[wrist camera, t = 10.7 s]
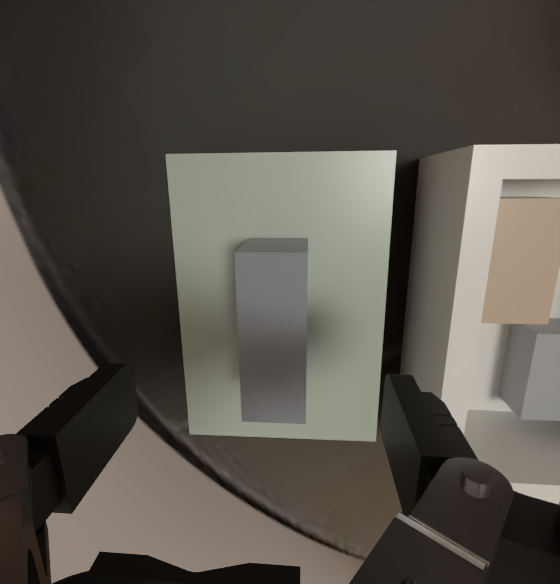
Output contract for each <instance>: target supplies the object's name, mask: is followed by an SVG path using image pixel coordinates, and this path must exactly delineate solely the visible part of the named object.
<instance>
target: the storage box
mask: <svg viewBox="0 0 560 584" xmlns="http://www.w3.org/2000/svg"><path fill="white" fill-rule="evenodd" d="M400 374H403V375H412V376H413V377H414V379H415V381H416V383H417V385H418V387H419V388H420V390H421V392H432V393H433V394H434V395H435V396H437V397H438V398H439V399H441V400H442V401H443V402H444V403H445V404H446V406H447V408H448V409H449V411H450V413H451V416H452V417H453V418H454V419H455V421H456V423H457V426H458V427H459V428H460V430H461V431H462V433H463V435H464V436H465V438H466V440H467V441H468V443H469V445H470V446H471V448H472V450H473V451H474V453H475V455H476V456H477V458H478V460H479V461H482V462H484V463H486V464H488V465H490V466H492V467H494V468H495V469H497V470H498V471H499V472H501V473H502V474H503V475H504V476H505V477H506V478H507V480H508V481H509V482H510V484H511V486H512V488H513V490H514V491H516V492H518V493H521V494H524V495H527V496H530V497H534V498H537V499H541V500H544V501H548V502H551V503H555V504H558V505H559V502H560V144H516V145H472V146H468V147H464V148H460V149H456V150H451V151H447V152H443V153H439V154H435V155H431V156H427V157H423V158H420V160H419V171H418V181H417V192H416V203H415V214H414V224H413V235H412V246H411V257H410V267H409V278H408V289H407V300H406V311H405V321H404V332H403V343H402V354H401V364H400Z"/></svg>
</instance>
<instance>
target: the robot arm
mask: <svg viewBox="0 0 560 584" xmlns="http://www.w3.org/2000/svg"><path fill="white" fill-rule="evenodd" d="M137 414H138V404H137V396H136V388H135V381H134V373H133V368H132V366H131V365H130V364H118V363H105V364H103V365H102V366H101V367H100V368H99V369H97V370H96V371H95V372H94V373H93V374H92V375H91V376H90V377H89V378H85V379H84V380H82V381H80V382H78V383H76V384H74V385H72V386H70V387H69V388H68V389H67V390H66V391H64V392H63V393H62V394H61V395H60V396H59V398H58V399H56V400H54V401H53V402H52V403H51V404H50V405H49V407H46V408H45V409H44V410H43V411H42V412H40V413H39V414H38V415H37V416H36V417H35V418H34V419H32V420H31V421H30V422H29V423H28V424H27V425H26V426H24V427H23V428H22V429H21V430H20V431H19V432H18V433H16V434H5V435H0V584H51V571H50V554H49V537H48V527H47V524H46V519H47V518H48V517H49V516H50V514H51V513H52V512H54V513H70V514H72V513H73V511H74V510H75V508H76V507H77V506H78V504H79V503H80V501H81V500H82V498H83V497H84V496H85V494H86V493H87V491H88V490H89V488H90V487H91V486H92V484H93V483H94V482H95V480H96V479H97V477H98V476H99V474H100V473H101V472H102V470H103V469H104V467H105V466H106V464H107V463H108V462H109V460H110V459H111V458H112V456H113V454H114V453H115V452H116V450H117V449H118V448H119V446H120V445H121V443H122V442H123V441H124V439H125V438H126V436H127V435H128V434H129V432H130V431H131V429H132V428H133V426H134V424H135V422H136V419H137ZM381 431H382V438H383V442H384V446H385V450H386V453H387V457H388V460H389V464H390V468H391V471H392V475H393V478H394V482H395V486H396V489H397V493H398V496H399V500H400V504H401V507H402V511H403V512H400V513H399V514H397V515H396V516H395V518H394V519H393V520H392V522H391V523H390V525H389V526H388V528H387V529H386V531H385V532H384V534H383V535H382V536H381V538H380V539H379V541H378V542H377V544H376V545H375V547H374V548H373V550H372V551H371V553H370V554H369V555H368V557H367V558H366V560H365V561H364V563H363V564H362V566H361V567H360V569H359V570H358V572H357V573H356V574H355V576H354V577H353V579H352V580H351V582H350V583H349V584H560V502H559V505H558V504H555V503H551V502H548V501H544V500H541V499H537V498H534V497H530V496H527V495H524V494H521V493H518V492H516V491H514V490H513V488H512V486H511V484H510V482H509V481H508V480H507V478H506V477H505V476H504V475H503V474H502V473H501V472H499V471H498V470H497V469H495V468H494V467H492V466H490V465H488V464H486V463H484V462H482V461H479V460H478V458H477V456H476V455H475V453H474V451H473V450H472V448H471V446H470V445H469V443H468V441H467V440H466V438H465V436H464V435H463V433H462V431H461V430H460V428H459V427H458V426H457V423H456V421H455V419H454V418H453V417H452V416H451V413H450V411H449V409H448V408H447V406H446V404H445V403H444V402H443V401H442V400H441V399H439V398H438V397H437V396H435V395H434V394H433V393H432V392H421V390H420V388H419V387H418V385H417V383H416V381H415V379H414V377H413V376H412V375H403V374H386V377H385V383H384V393H383V404H382V415H381ZM53 584H300V567H297V566H284V565H271V564H257V563H247V564H241V565H236V566H230V567H224V568H219V569H214V570H208V571H203V572H190V571H187V570H185V569H182V568H179V567H177V566H174V565H171V564H169V563H166V562H164V561H161V560H158V559H156V558H153V557H150V556H148V555H137V554H124V553H110V552H99V554H98V556H97V558H96V559H95V561H94V563H93V565H92V566H91V568H90V570H89V571H87V572H83V573H79V574H76V575H72V576H69V577H67V578H64V579H62V580H59V581H57V582H55V583H53Z"/></svg>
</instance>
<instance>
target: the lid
mask: <svg viewBox="0 0 560 584" xmlns="http://www.w3.org/2000/svg"><path fill="white" fill-rule="evenodd" d="M396 153H397V150H396V151H331V152H267V153H203V154H166V166H167V177H168V189H169V200H170V212H171V224H172V235H173V247H174V258H175V270H176V281H177V293H178V304H179V316H180V328H181V339H182V351H183V362H184V374H185V385H186V397H187V409H188V420H189V432H190V434H199V435H224V436H249V437H274V438H299V439H324V440H349V441H373V442H376V432H377V418H378V404H379V390H380V376H381V362H382V348H383V334H384V320H385V306H386V292H387V278H388V264H389V250H390V236H391V222H392V208H393V194H394V180H395V166H396Z"/></svg>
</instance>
